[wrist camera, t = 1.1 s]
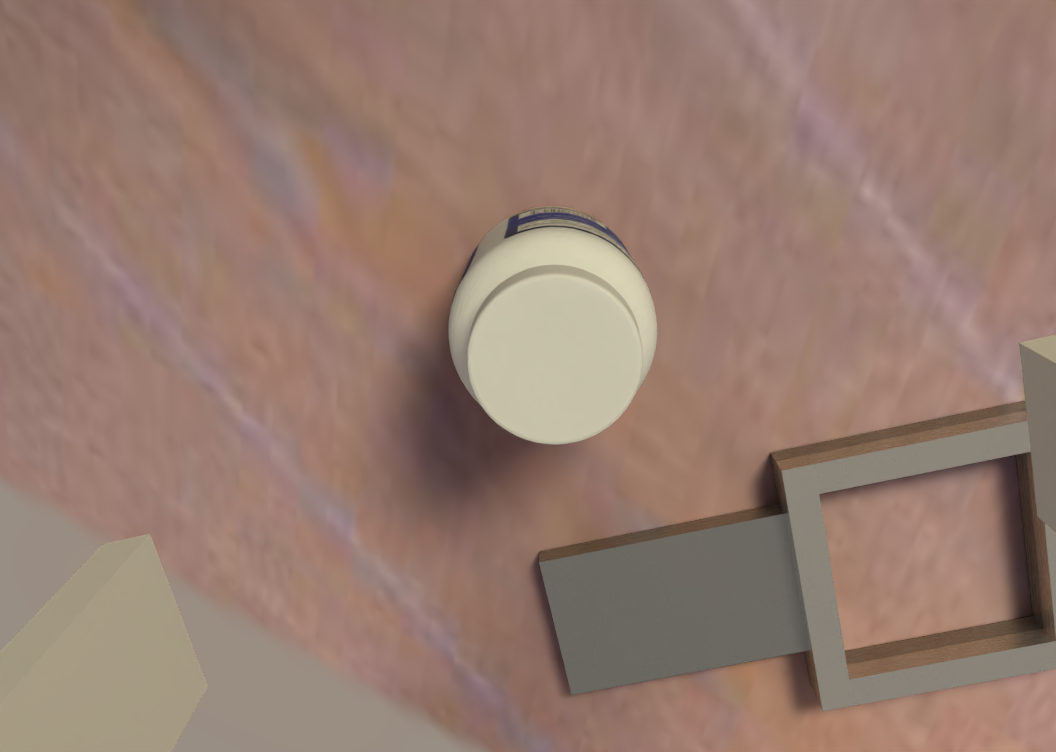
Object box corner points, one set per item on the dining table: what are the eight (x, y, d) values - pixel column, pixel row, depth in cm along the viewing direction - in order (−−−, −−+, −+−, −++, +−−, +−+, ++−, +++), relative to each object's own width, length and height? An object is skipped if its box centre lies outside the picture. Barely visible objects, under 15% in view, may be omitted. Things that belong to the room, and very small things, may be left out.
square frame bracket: (581, 726, 35) (583, 755, 33) (527, 502, 33) (526, 522, 31) (1312, 590, 33) (1349, 614, 31) (1307, 343, 31) (1347, 356, 29)
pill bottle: (550, 405, 32) (550, 518, 23) (430, 290, 31) (384, 364, 22) (672, 289, 31) (721, 362, 22) (552, 166, 30) (554, 193, 21)
